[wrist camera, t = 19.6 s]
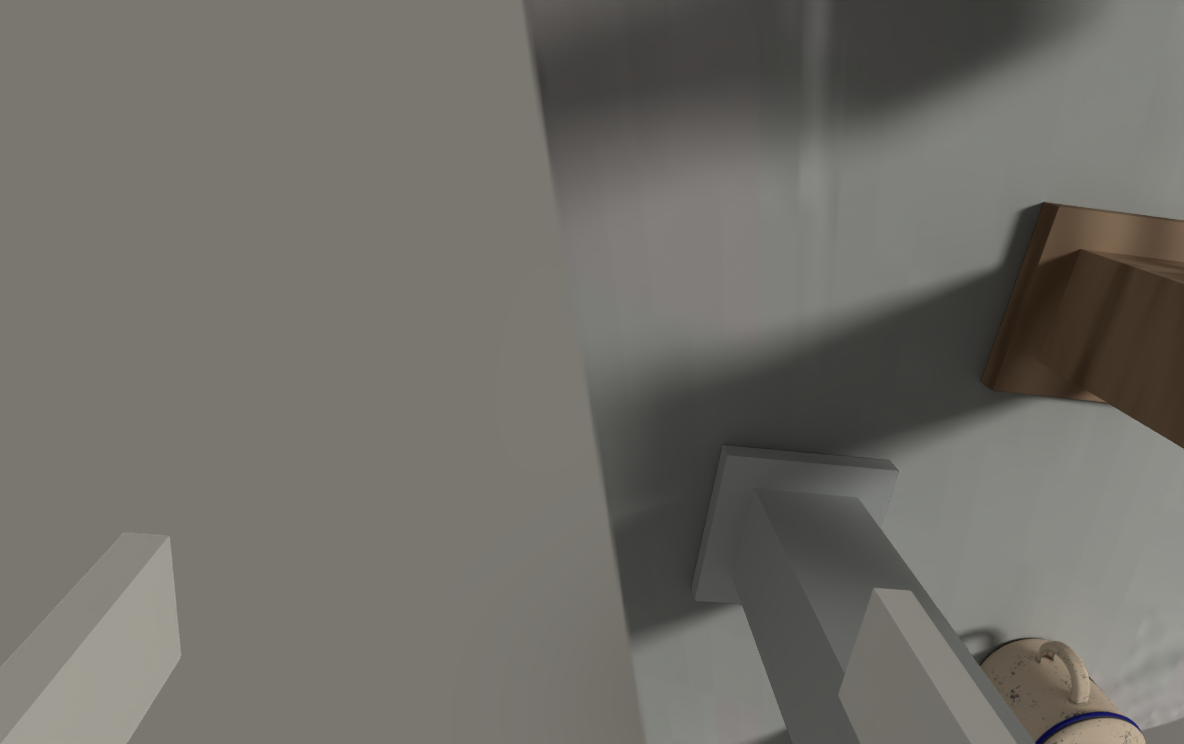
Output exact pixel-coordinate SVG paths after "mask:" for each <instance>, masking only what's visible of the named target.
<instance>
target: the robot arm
mask: <svg viewBox="0 0 1184 744" xmlns="http://www.w3.org/2000/svg"><path fill="white" fill-rule="evenodd" d="M180 658H181V649H180V638H179V628H178V618H177V608H176V597H175V587H174V576H173V566H172V556H171V546H170V536H169V535H156V534H143V533H129V532H124V533H123V534H122V535H121V536H120V537H119V538H118V539H117V541H116V542H115V543H114V544H113V545H112V546H111V547H110V548H109V549H108V550H107V551H106V553H105V554H104V555H103V556H102V557H101V558H100V559H99V560H98V561H97V562H96V563H95V565H94V566H93V567H92V568H91V569H90V570H89V571H88V572H87V573H86V574H85V576H84V577H83V578H82V579H81V580H80V581H79V582H78V583H77V584H76V585H75V586H74V587H73V588H72V590H71V591H70V592H69V593H68V594H67V595H66V596H65V597H64V598H63V599H62V600H61V602H60V603H59V604H58V605H57V606H56V607H55V608H54V609H53V610H52V612H51V613H50V614H49V615H48V616H47V617H46V618H45V619H44V620H43V621H42V622H41V623H40V624H39V626H38V627H37V628H36V629H35V630H34V631H33V632H32V633H31V634H30V635H29V636H28V638H27V639H26V640H25V641H24V642H23V643H22V644H21V645H20V646H19V647H18V648H17V650H16V651H15V652H14V653H13V654H12V655H11V656H10V657H9V658H8V659H7V661H6V662H5V663H4V664H3V665H2V666H1V667H0V744H127V742H128V741H129V739H130V738H131V736H132V734H133V732H134V731H135V730H136V728H137V726H138V725H139V723H140V722H141V720H142V718H143V717H144V715H145V713H146V712H147V710H148V709H149V707H150V705H151V704H152V702H153V701H154V699H155V698H156V696H157V694H158V693H159V691H160V690H161V688H162V686H163V685H164V683H165V681H166V680H167V678H168V677H169V675H170V673H171V672H172V670H173V669H174V667H175V666H176V664H177V662H178V661H179V659H180ZM838 696H839V698H840V701H841V703H842V705H843V707H844V709H845V711H846V714H847V716H848V718H849V720H850V722H851V724H852V727H853V729H854V731H855V733H856V735H857V737H858V740H859V742H860V744H1017V743H1016V741H1015V740H1014V738H1013V737H1012V736H1011V734H1010V733H1009V731H1008V730H1007V728H1006V727H1005V726H1004V724H1003V723H1002V721H1001V720H1000V718H999V717H998V715H997V714H996V713H995V711H994V710H993V708H992V707H991V705H990V704H989V702H988V701H987V700H986V698H985V697H984V695H983V694H982V692H981V691H980V690H979V688H978V687H977V685H976V684H975V682H974V681H973V679H972V678H971V677H970V675H969V674H968V672H967V671H966V669H965V668H964V666H963V665H962V664H961V662H960V661H959V659H958V658H957V656H956V655H955V654H954V652H953V651H952V649H951V648H950V646H949V645H948V643H947V642H946V641H945V639H944V638H943V636H942V635H941V633H940V632H939V630H938V629H937V628H936V626H935V625H934V623H933V622H932V620H931V619H930V618H929V616H928V615H927V613H926V612H925V610H924V609H923V607H922V606H921V605H920V603H919V602H918V600H917V599H916V597H915V596H914V594H913V593H912V592H911V591H909V590H896V589H882V588H873V591H872V594H871V597H870V600H869V603H868V606H867V609H866V612H865V615H864V618H863V621H862V624H861V627H860V630H859V633H858V636H857V639H856V642H855V645H854V648H853V651H852V654H851V657H850V660H849V663H848V666H847V670H846V673H845V676H844V679H843V682H842V685H841V688H840V691H839V694H838Z"/></svg>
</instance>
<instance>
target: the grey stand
mask: <svg viewBox="0 0 1184 744" xmlns="http://www.w3.org/2000/svg"><path fill="white" fill-rule="evenodd" d="M898 473H899V470H898V469H897V468H896V467H895V466H894V464H893V463H892V462H891V461H890V460H881V459H870V458H860V457H849V456H838V455H827V454H816V453H806V452H795V451H784V450H773V449H762V448H751V447H741V446H730V445H722V450H721V454H720V459H719V464H718V468H717V473H716V477H715V482H714V486H713V491H712V495H711V500H710V504H709V509H708V513H707V518H706V523H705V527H704V532H703V536H702V541H701V545H700V550H699V554H698V559H697V563H696V568H695V573H694V577H693V582H692V586H691V589H692V593H693V597H694V600H695V601H701V602H715V603H729V604H742V606H743V609H744V612H745V614H746V617H747V620H748V623H749V625H750V628H751V631H752V634H753V637H754V639H755V642H756V645H757V648H758V650H759V653H760V656H761V659H762V661H763V664H764V667H765V670H766V673H767V675H768V678H769V681H770V684H771V686H772V689H773V692H774V695H775V698H776V700H777V703H778V706H779V709H780V711H781V714H782V717H783V720H784V722H785V725H786V728H787V731H788V734H789V736H790V739H791V742H792V744H860V742H859V740H858V737H857V735H856V733H855V731H854V729H853V727H852V724H851V722H850V720H849V718H848V716H847V714H846V711H845V709H844V707H843V705H842V703H841V701H840V698H839V696H838V694H839V691H840V688H841V685H842V682H843V679H844V676H845V673H846V670H847V666H848V663H849V660H850V657H851V654H852V651H853V648H854V645H855V642H856V639H857V636H858V633H859V630H860V627H861V624H862V621H863V618H864V615H865V612H866V609H867V606H868V603H869V600H870V597H871V594H872V591H873V588H882V589H896V590H909V591H911V592H912V593H913V594H914V596H915V597H916V599H917V600H918V602H919V603H920V605H921V606H922V607H923V609H924V610H925V612H926V613H927V615H928V616H929V618H930V619H931V620H932V622H933V623H934V625H935V626H936V628H937V629H938V630H939V632H940V633H941V635H942V636H943V638H944V639H945V641H946V642H947V643H948V645H949V646H950V648H951V649H952V651H953V652H954V654H955V655H956V656H957V658H958V659H959V661H960V662H961V664H962V665H963V666H964V668H965V669H966V671H967V672H968V674H969V675H970V677H971V678H972V679H973V681H974V682H975V684H976V685H977V687H978V688H979V690H980V691H981V692H982V694H983V695H984V697H985V698H986V700H987V701H988V702H989V704H990V705H991V707H992V708H993V710H994V711H995V713H996V714H997V715H998V717H999V718H1000V720H1001V721H1002V723H1003V724H1004V726H1005V727H1006V728H1007V730H1008V731H1009V733H1010V734H1011V736H1012V737H1013V738H1014V740H1015V741H1016V743H1017V744H1036V743H1035V742H1034V741H1033V739H1032V738H1031V736H1030V735H1029V734H1028V732H1027V731H1026V730H1025V728H1024V727H1023V725H1022V724H1021V723H1020V721H1019V720H1018V718H1017V717H1016V716H1015V714H1014V713H1013V712H1012V710H1011V709H1010V707H1009V706H1008V705H1007V703H1006V702H1005V700H1004V699H1003V698H1002V696H1001V695H1000V694H999V692H998V691H997V689H996V688H995V687H994V685H993V684H992V682H991V681H990V680H989V678H988V677H987V676H986V674H985V673H984V671H983V670H982V669H981V667H980V666H979V664H978V663H977V662H976V660H975V659H974V658H973V656H972V655H971V653H970V652H969V651H968V649H967V648H966V646H965V645H964V644H963V642H962V641H961V639H960V638H959V637H958V635H957V634H956V633H955V631H954V630H953V628H952V627H951V626H950V624H949V623H948V621H947V620H946V619H945V617H944V616H943V615H942V613H941V612H940V610H939V609H938V608H937V606H936V605H935V603H934V602H933V601H932V599H931V598H930V597H929V595H928V594H927V592H926V591H925V590H924V588H923V587H922V585H921V584H920V583H919V581H918V580H917V579H916V577H915V576H914V574H913V573H912V572H911V570H910V569H909V567H908V566H907V565H906V563H905V562H904V561H903V559H902V558H901V556H900V555H899V554H898V552H897V551H896V549H895V548H894V547H893V545H892V544H891V543H890V541H889V540H888V538H887V537H886V536H885V534H884V533H883V531H882V530H881V529H880V528H881V525H882V522H883V519H884V516H885V513H886V510H887V507H888V504H889V501H890V498H891V495H892V491H893V488H894V485H895V482H896V479H897V476H898Z"/></svg>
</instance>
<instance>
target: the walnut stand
mask: <svg viewBox="0 0 1184 744" xmlns="http://www.w3.org/2000/svg"><path fill="white" fill-rule="evenodd" d="M981 382H982V383H983V384H984V385H986V386H987V387H988V388H990V389H991V390H993V391H1002V392H1011V393H1021V394H1030V395H1040V396H1050V397H1059V398H1069V399H1079V400H1088V401H1098V402H1107V403H1108V404H1110V405H1112V406H1113V407H1115V408H1117V409H1118V410H1120V411H1122V412H1123V413H1125V414H1127V415H1128V416H1130V417H1132V418H1134V419H1135V420H1137V421H1139V422H1140V423H1142V424H1144V425H1145V426H1147V427H1149V428H1150V429H1152V430H1154V431H1155V432H1157V433H1159V434H1160V435H1162V436H1164V437H1165V438H1167V439H1169V440H1170V441H1172V442H1174V443H1175V444H1177V445H1179V446H1180V447H1182V448H1184V221H1183V220H1176V219H1168V218H1161V217H1153V216H1145V215H1138V214H1130V213H1123V212H1115V211H1107V210H1100V209H1092V208H1085V207H1077V206H1069V205H1062V204H1054V203H1047V202H1044V204H1043V206H1042V209H1041V212H1040V215H1039V218H1038V221H1037V223H1036V226H1035V229H1034V232H1033V235H1032V238H1031V240H1030V243H1029V246H1028V249H1027V252H1026V255H1025V257H1024V260H1023V263H1022V266H1021V269H1020V272H1019V274H1018V277H1017V280H1016V283H1015V286H1014V289H1013V291H1012V294H1011V297H1010V300H1009V303H1008V306H1007V308H1006V311H1005V314H1004V317H1003V320H1002V323H1001V325H1000V328H999V331H998V334H997V337H996V339H995V342H994V345H993V348H992V351H991V354H990V356H989V359H988V362H987V365H986V368H985V371H984V373H983V376H982V379H981Z"/></svg>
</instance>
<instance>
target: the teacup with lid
mask: <svg viewBox="0 0 1184 744" xmlns="http://www.w3.org/2000/svg"><path fill="white" fill-rule="evenodd" d="M980 667H981V669H982V670H983V671H984V673H985V674H986V676H987V677H988V678H989V680H990V681H991V682H992V684H993V685H994V687H995V688H996V689H997V691H998V692H999V694H1000V695H1001V696H1002V698H1003V699H1004V700H1005V702H1006V703H1007V705H1008V706H1009V707H1010V709H1011V710H1012V712H1013V713H1014V714H1015V716H1016V717H1017V718H1018V720H1019V721H1020V723H1021V724H1022V725H1023V727H1024V728H1025V730H1026V731H1027V732H1028V734H1029V735H1030V736H1031V738H1032V739H1033V741H1034V742H1035V743H1036V744H1145V740H1144V737H1143V735H1142V733H1141V730H1140V729H1139V727H1138V726H1137V725H1136V724H1135V723H1134V722H1133V721H1132V720H1130V719H1129V718H1127V717H1125V716H1124V715H1123V714H1122V713H1121V712H1120V711H1119V710H1118V708H1117V707H1116V706H1115V705H1114V704H1113V703H1112V702H1111V701H1110V699H1109V698H1108V697H1107V696H1106V695H1105V694H1104V693H1103V692H1102V690H1101V689H1100V688H1099V687H1098V686H1097V685H1096V684H1095V683H1094V681H1093V680H1092V679H1091V678H1090V677H1089V676H1088V673H1087V670H1086V667H1085V665H1084V663H1083V662H1082V660H1081V659H1080V657H1079V656H1078V655H1077V654H1076V652H1075V651H1074V650H1072V649H1071V648H1070V647H1069V646H1067V645H1066V644H1064V643H1062V642H1058V641H1049V640H1045V639H1037V638H1031V639H1023V640H1018V641H1015V642H1012V643H1009V644H1007V645H1005V646H1003V647H1001V648H999V649H998V650H996V651H995V652H993V653H992V654H991V655H990V656H989V657H988V658H987V659H986V660H985V661H984V662H983V663H982V665H981V666H980Z"/></svg>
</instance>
